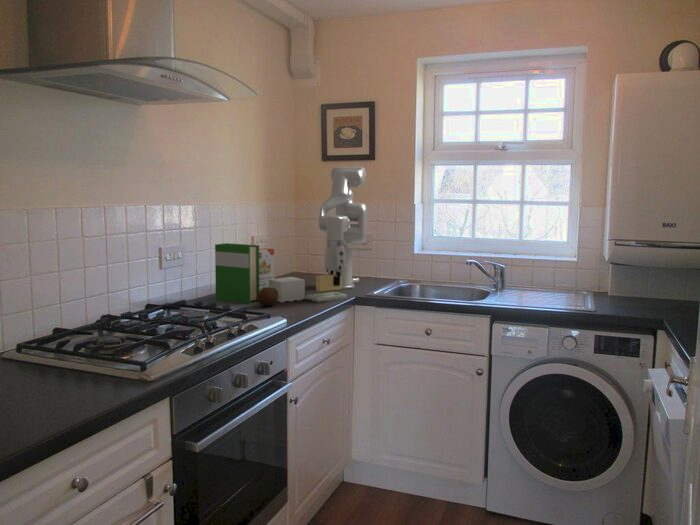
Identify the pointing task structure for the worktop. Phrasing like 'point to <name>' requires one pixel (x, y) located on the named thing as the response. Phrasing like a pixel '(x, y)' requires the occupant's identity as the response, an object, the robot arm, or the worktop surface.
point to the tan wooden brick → (327, 283)
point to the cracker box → (265, 267)
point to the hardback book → (237, 272)
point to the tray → (327, 297)
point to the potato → (268, 296)
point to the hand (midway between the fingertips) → (334, 284)
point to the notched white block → (288, 288)
